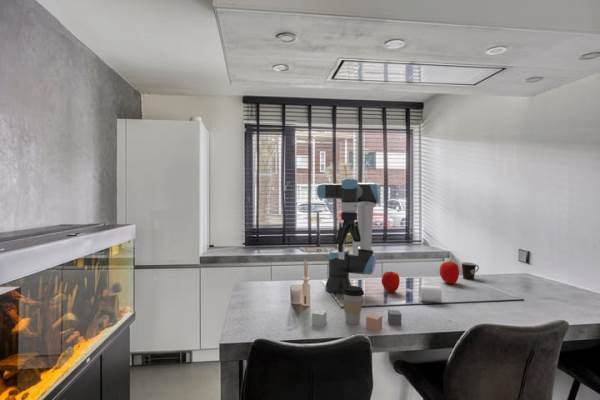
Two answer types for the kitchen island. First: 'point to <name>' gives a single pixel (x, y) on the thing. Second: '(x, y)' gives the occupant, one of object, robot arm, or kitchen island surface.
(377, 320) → the terracotta cube
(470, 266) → the coffee mug
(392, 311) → the charcoal cube
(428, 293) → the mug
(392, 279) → the red rounded piece
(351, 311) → the coffee cup
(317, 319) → the sage cube
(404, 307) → the kitchen island surface
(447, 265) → the red strawberry
